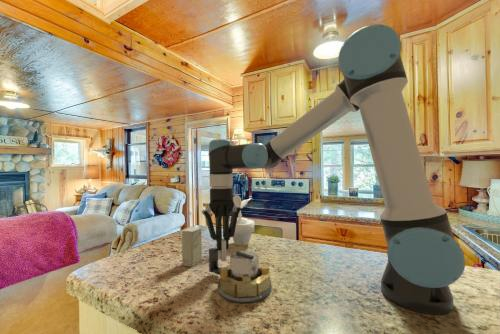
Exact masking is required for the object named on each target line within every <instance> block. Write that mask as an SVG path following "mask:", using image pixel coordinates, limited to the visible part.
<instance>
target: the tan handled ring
mask: <svg viewBox="0 0 500 334" xmlns="http://www.w3.org/2000/svg"><path fill="white" fill-rule="evenodd" d="M208 272H210V273H214V274H217V275H218V276H219V282H220V289H221V291H223V292H225V293H227V294H230V295H232V296H234V297H235V296H237V297H249V296H257V295H260V294H261V293H263V292H264V291H265V290H267V289H268V288H269V287H270V282H271V273H270V267H269V265H267V264H266V265H262V264H260V263H259V277H258V278H257V279H255V280H251V279H250V276H242V281H237V280H234V279H232V278H230V264H228V265H227V266H225V267H220V266H219V251H218V249H217V247H212V248H209V249H208Z"/></svg>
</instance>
